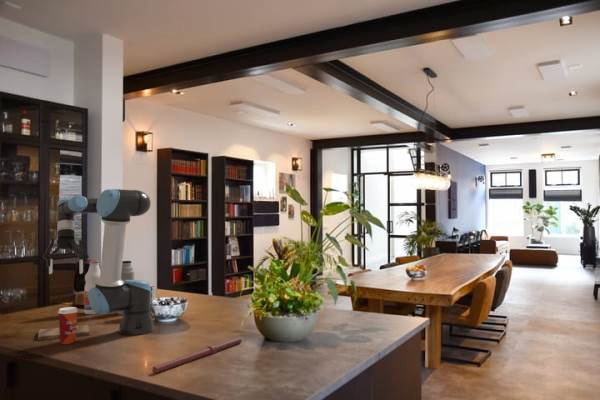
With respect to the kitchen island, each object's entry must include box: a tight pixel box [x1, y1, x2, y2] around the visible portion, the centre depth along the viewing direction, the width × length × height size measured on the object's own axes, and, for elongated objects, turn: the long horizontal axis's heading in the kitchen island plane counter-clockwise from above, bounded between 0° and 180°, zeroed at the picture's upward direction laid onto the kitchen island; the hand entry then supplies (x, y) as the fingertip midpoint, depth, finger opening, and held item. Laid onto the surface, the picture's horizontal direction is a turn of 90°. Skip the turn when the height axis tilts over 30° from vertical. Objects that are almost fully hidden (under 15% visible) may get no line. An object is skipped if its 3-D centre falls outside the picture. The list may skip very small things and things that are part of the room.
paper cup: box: [57, 306, 79, 345], centre depth 200 cm, size 8×8×14 cm
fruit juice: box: [83, 259, 101, 315], centre depth 258 cm, size 9×9×28 cm
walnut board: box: [37, 324, 90, 341], centre depth 213 cm, size 20×14×2 cm
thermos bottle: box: [117, 260, 135, 316], centre depth 257 cm, size 8×8×28 cm
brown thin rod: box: [151, 337, 242, 374], centre depth 180 cm, size 45×3×3 cm, turn 147°
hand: (66, 273), depth 226 cm, fingers open, 13 cm apart
